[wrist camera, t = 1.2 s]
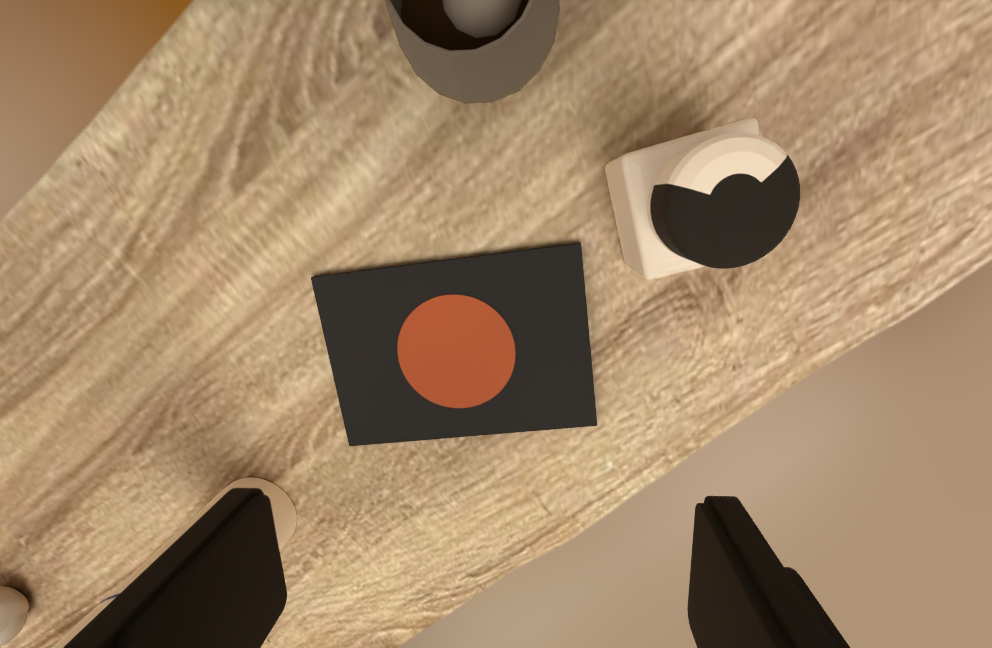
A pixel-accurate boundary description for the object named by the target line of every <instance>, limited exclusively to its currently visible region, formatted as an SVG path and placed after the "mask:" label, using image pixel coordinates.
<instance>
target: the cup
mask: <svg viewBox="0 0 992 648" xmlns="http://www.w3.org/2000/svg"><path fill="white" fill-rule="evenodd" d="M385 3H386V6H387V9H388V12H389V15H390V18H391V21H392V24H393V27H394V30H395V33H396V36H397V39H398V42H399V45H400V47H401V49H402V51H403V52H404V54H405V56H406V58H407V59H408V61H409V63H410V64H411V66H412V68H413V69H414V71H415V73H416V74H417V76H419V77H420V78H421V79H422V80H423V81H425V82H426V83H427V84H428V85H429V86H430V87H432V88H433V89H434V90H435V91H436V92H438V93H439V94H441V95H443V96H446V97H449V98H452V99H455V100H458V101H460V102H463V103H487V102H494V101H497V100H499V99H501V98H503V97H506V96H508V95H510V94H513V93H515V92H517V91H519V90H520V89H521V88H522V87H523V86H524V85H525V84H526V83H527V82H528V81H529V80H530V79H531V78H532V77H533V76H534V75H535V74H536V73H537V72H538V71H539V70H540V68H541V66H542V65H543V63H544V61H545V59H546V57H547V55H548V53H549V51H550V49H551V47H552V45H553V43H554V40H555V34H556V28H557V22H558V16H559V10H560V6H559V0H385Z"/></svg>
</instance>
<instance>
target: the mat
mask: <svg viewBox="0 0 992 648" xmlns="http://www.w3.org/2000/svg"><path fill="white" fill-rule="evenodd" d="M311 280H312V285H313V289H314V293H315V298H316V302H317V306H318V311H319V315H320V319H321V324H322V328H323V333H324V337H325V341H326V346H327V350H328V354H329V359H330V363H331V368H332V372H333V376H334V381H335V385H336V389H337V394H338V398H339V402H340V407H341V411H342V416H343V420H344V424H345V429H346V433H347V437H348V442H349V446H357V445H369V444H381V443H393V442H405V441H417V440H429V439H441V438H453V437H465V436H478V435H490V434H502V433H514V432H526V431H538V430H550V429H562V428H574V427H586V426H597V418H596V407H595V396H594V384H593V373H592V362H591V351H590V340H589V329H588V317H587V306H586V295H585V284H584V273H583V262H582V250H581V243H573V244H565V245H557V246H549V247H541V248H533V249H525V250H518V251H510V252H502V253H494V254H486V255H478V256H470V257H462V258H454V259H446V260H438V261H430V262H423V263H415V264H407V265H399V266H391V267H383V268H375V269H367V270H359V271H351V272H343V273H336V274H328V275H320V276H314V277H311Z"/></svg>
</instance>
